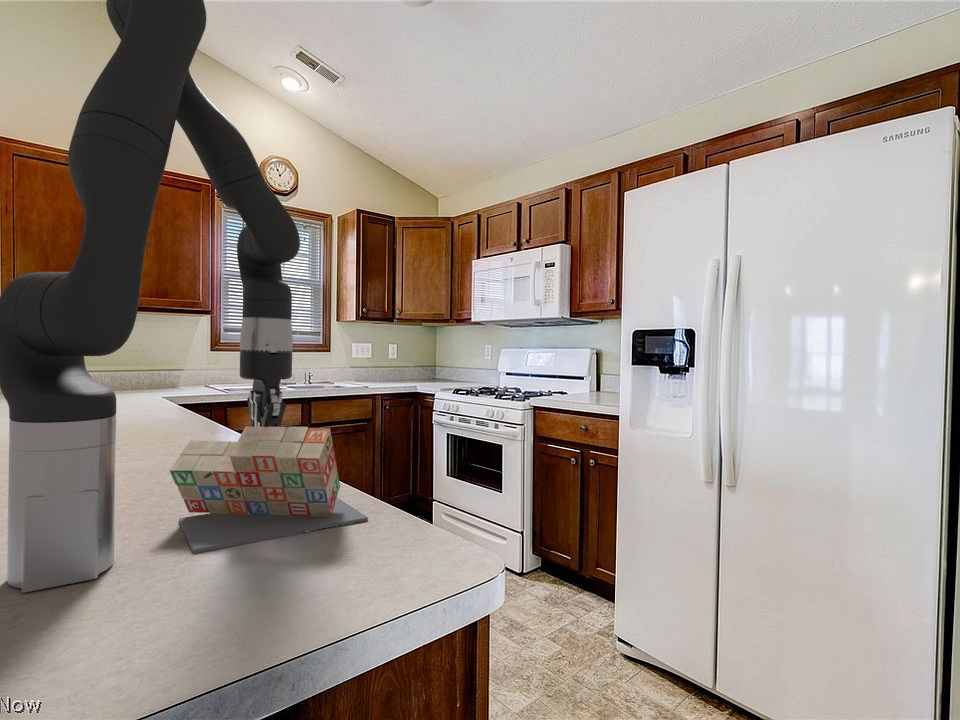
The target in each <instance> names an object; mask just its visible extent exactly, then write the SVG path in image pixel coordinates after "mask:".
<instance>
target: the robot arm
mask: <svg viewBox="0 0 960 720" xmlns="http://www.w3.org/2000/svg"><path fill="white" fill-rule="evenodd" d="M105 3H106V4H105V6H106V7H105V8H106V12H107V15H108V18H109V21H110V23H111V25H112V27H113V29H114V31H115V33H116V34H117V36H118V38H119V39H120V41H119V44H118V46H117V47H116V48H115V52H114V53H113V55H112V56H111V58H110V59H109V60H108V62H107V63H106V65H105V66H104V68H103V70H102V71H101V72H100V74H99V75H98V77H97V79H96V81H95V82H94V84H93V86H92V87H91V89H90V91H89V93H88V94H87V97H86V99H85V101H84V102H83V104H82V106H81V109H80V111H79V115H78V117H77V120H76V123H75V127H74V130H73V132H72V136H71V140H70V143H69V147H68V154H67V166H68V170H69V171H68V172H69V175H70V178H71V181H72V184H73V187H74V189H75V192H76V195H77V197H78V200H79V202H80V205H81V209H82V211H83V218H84V219H83V222H84V223H83V225H84V226H83V233H82V237H81V240H80V245H79V247H78V248H79V249H78V252H77V256H76V258H75V260H74V262H73V265H72V268H71V270H70V271H36V272H29V273H28V272H27V273H24V274H20V275H19V276H16V277H15V278H14V279H12V280H11V281H10V282H9V283H7V285H6V286H5V288H4V289H3V290H2V292H1V294H0V391H1V394H2V395H3V397H4V399H5V400H6V402H7V406H8V413H9V417H8V418H9V435H8V438H9V441H8V442H9V443H8V444H9V445H8V481H7V482H8V489H7V490H8V491H7V492H8V493H7V494H8V496H7V497H8V498H7V499H8V501H7V577H6V582H7V583H8V585H9V586H11V587H13V588H17V589H21V593H28V592H29V593H30V592H33V591H39V590H44V589H49V588H55V587H60V586H64V585H69V584H75V583H80V582H85V581H90V580H94V579H98V578H99V575H100V574H101V573H103V572H105V571H107V570H108V569H109V568H110V567H112V566H113V564H114V563H115V532H116V531H115V530H116V529H115V517H116V516H115V513H116V511H115V507H116V503H115V502H116V450H117V449H116V447H117V446H116V444H117V442H116V441H117V415H116V414H117V396H116V393H115V391H113V390H112V389H111V388H109V387H107V386H105V385H103V384H102V383H100V382H99V381H97V380H96V379H94V378H93V377H92V376H91V375H90V373H89V372H88V370H87V367H86V362H85V357H102V356H108V355H111V354H113V353H116V352H117V351H118V350H120V349H121V348H122V347H123V346H124V345H125V344H126V343H127V341H128V340H129V339H130V336H131V334H132V332H133V329H134V327H135V325H136V321H137V315H138V311H139V304H140V295H141V287H142V286H141V285H142V277H143V270H144V262H145V261H144V260H145V255H146V254H145V253H146V249H147V248H146V247H147V242H148V237H149V233H150V228H151V223H152V218H153V213H154V210H155V205H156V201H157V196H158V193H159V190H160V187H161V186H160V185H161V183H162V180H163V177H164V172H165V168H166V165H167V161H168V157H169V153H170V149H171V143H172V138H173V134H174V129H175V125H176V122H177V123H178V126H180V128H181V129H182V131H183V133H184V134H185V136H186V137H187V139H188V141H189V143H190V145H191V146H192V149H193V150H194V151H195V153H196V155H197V157H198V159H199V161H200V163H201V165H202V167H203V169H204V170H205V172H206V174H207V177H208V179H209V180H210V182H211V184H212V186H213V187H214V190H215V192H216V194H217V195H218V197H219V199H220V200H221V202H222V203H223V204H224V206H225V207H228V208H230V209H233V210H235V211H236V213H238V215H239V216H240V218H241V219H242V221H243V222H244V223H245V226H243V228H242V229H241V231H240V233H238V234H239V235H238V238H237V243H236V256H237V263H238V268H239V270H238V271H239V275H240V279H241V284H242V289H243V292H242V293H243V294H242V321H241V327H240V333H239V334H240V335H239V377H240V378H241V379H243V380H253V382H252V390H249V394H248V395H249V396H248V397H247V399H246V401H247V405H248V410H249V412H248V413H249V417H250V423H251V424H250V425H251V426H250V427H282V426H281V425H282V421H283V418H284V416H285V412H286V408H287V405H286V403H285V402H283V391H281V388H280V386H281V385H280V381H281V380H289V379H291V378H292V377H293V376H292V375H293V346H294V345H293V341H294V339H293V337H294V335H293V334H294V333H293V326H292V315H293V314H292V311H293V310H292V308H293V307H292V306H293V305H292V303H293V300H292V299H293V298H292V297H293V296H292V289H291V287H290V286H289V285H288V284H287V283H285V282H284V281H283V273H282V272H283V271H282V264H284V263H288V262H289V261H292V260H293V259H294V258H295V257H296V256H297V255H298V253H299V251H300V246H301V237H300V234H299V230H298V227H297V225H296V223H295V222H294V220H293V218H292V216H291V214H290V213H289V212H288V211H287V209H286V208H285V206H284V205H283V204H282V202H281V201H280V199H279V198H278V197H277V195H276V194H275V193H274V192H273V190H271V188H270V187H269V185H268V184H267V182H266V180H265V177H264V174H263V173H262V170H261V168H260V167H259V164H258V162H257V160H256V158H255V156H254V154H253V152H252V150H251V148H250V146H249V144H248V142H247V141H246V138H244V136H243V134H242V133H241V132H240V130H239V129H238V128H237V127H236V126H235V125H234V124H233V122H231V121H230V119H228V118H227V117H226V116H225V114H223V113H222V112H221V111H220V110H219V109H218V108H217V107H216V106H215V104H213V103H212V102H211V101H210V100H209V99H208V97H207V95H205V93H204V92H203V91H202V90H201V88H200V87H199V85H198V84H197V82H196V80H195V78H194V77H193V75H192V73H191V71H190V66H191V65H192V62H193V59H194V57H195V54H196V52H197V49H198V48H199V45H200V43H201V40H202V39H203V36H204V34H205V30H206V28H207V27H206V26H207V7H206V4H205V0H106V2H105Z"/></svg>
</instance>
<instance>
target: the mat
mask: <svg viewBox="0 0 960 720" xmlns="http://www.w3.org/2000/svg"><path fill="white" fill-rule="evenodd" d="M362 521H363V522H367V521H369V517H368V516H367V515H365V514H364V513H362V512H360V511H359V510H358V509H356V508H354V507H353V506H351V505H349V504H348V503H346V501H344V500H342V499H341V498H339V497H337V498H336V500H335V505H334V508H333V512H332V515H331V517H313V516H291V515H271V514H270V515H263V514H249V515H247V514H230V513H229V514H214V513H210V512H209V513H205V514H204V513H203V514H198V515H190V516H184V517H179V518H178V523H179V525H180V527H181V529H182V531H183V533H184V535H185V536H184V537H186V540H187V543H188V545H189V547H190V549H191V551H192V554H199V553H203V552H208V551H209V552H210V551H213V550H218V549H224V548H230V547H235V546H240V545H246V544H249V543H251V544H252V543H257V542H261V541H266V540H271V539H277V537H278V538H283V537H288V535H289V536H293V535H298V533H299V534H303V533H302V532H305V533H308V532H307V531H310V532H313V531H312V530H315V531H318V530H317V529H321V530H323V529H322V528H326V529H328V528H327V527H331V528H334V527H333V526H337V527H339V526H338V525H342V526H345V525H344V524H347V525H350V524H349V523H352V524H357V523H356V522H358V523H361V522H362ZM363 522H362V523H363ZM256 541H257V542H256Z"/></svg>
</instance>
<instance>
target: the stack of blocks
mask: <svg viewBox="0 0 960 720" xmlns="http://www.w3.org/2000/svg"><path fill="white" fill-rule="evenodd" d="M169 473H170V475H171V477H172V480H173V481H174V484H175V486H176V487H177V489H178V492H179V493H180V496H181V498H182V500H183V502H184V503H185V506H186V508H187V511H188V513H191V514H192V513H197V514H198V513H201V514H204V513H205V514H210V513H214V514H229V513H230V514H247V515H249V514H263V515H270V514H271V515H291V516H313V517H331V515H332V512H333V508H334V505H335V500H336V498H338V494H339V490H340V487H341V483H340V477H339V473H338V467H337V460H336V453H335V448H334V444H333V438H332V432H331V428H330V427H328V428H327V427H326V428H322V427H308V426H280V427H251V426H245V427H244V428H243V431H242V432H241V435H240V436H239V438H238V440H237V441H230V440H209V441H208V440H189V441H188V443H187V444H186V445H185V446H184V448H183V450H182V451H181V452H180V454H179V456H178V458H177V459H176V460H175V461H174V463H173V464H172V466H171V468H170V469H169Z"/></svg>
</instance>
